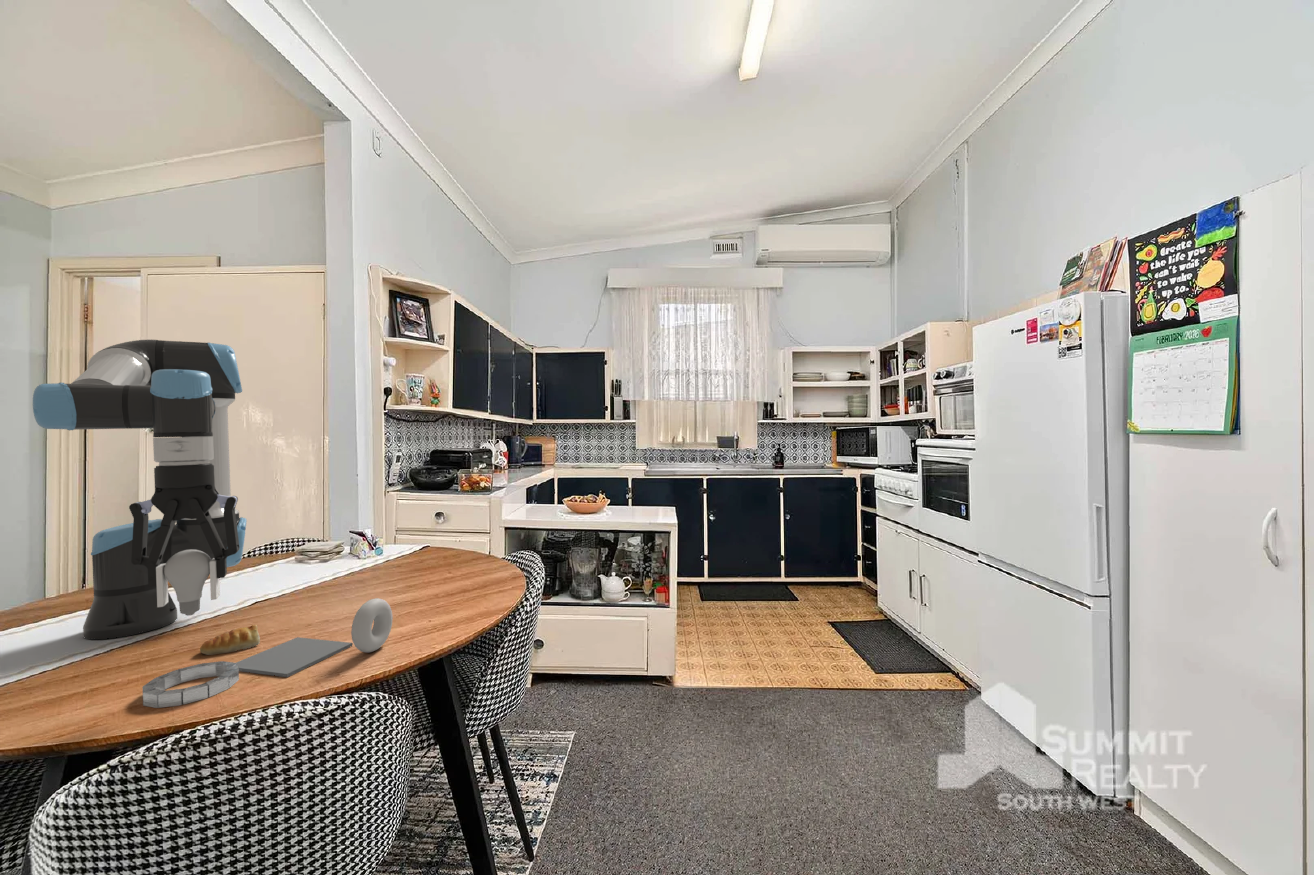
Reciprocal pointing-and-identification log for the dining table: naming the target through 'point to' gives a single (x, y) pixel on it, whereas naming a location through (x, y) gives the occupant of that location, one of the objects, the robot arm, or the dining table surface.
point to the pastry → (232, 641)
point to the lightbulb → (188, 578)
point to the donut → (363, 624)
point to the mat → (291, 656)
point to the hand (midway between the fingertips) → (189, 600)
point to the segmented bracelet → (165, 698)
